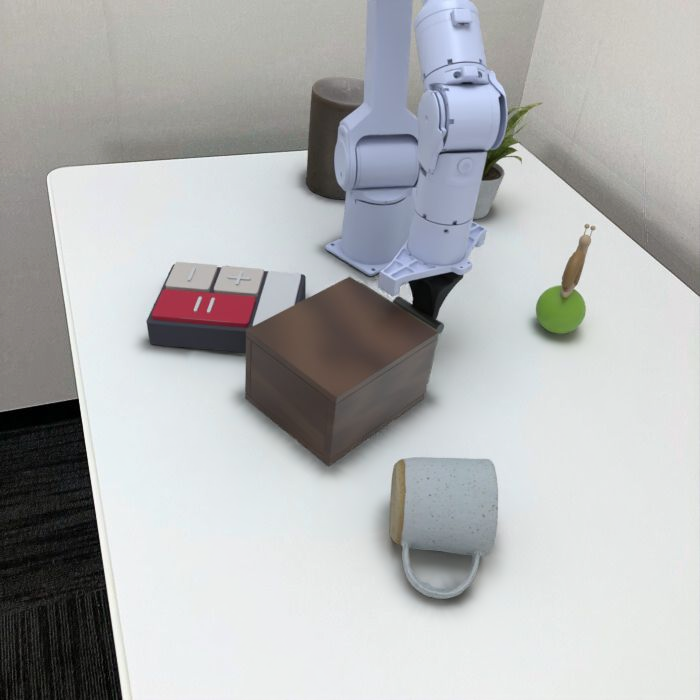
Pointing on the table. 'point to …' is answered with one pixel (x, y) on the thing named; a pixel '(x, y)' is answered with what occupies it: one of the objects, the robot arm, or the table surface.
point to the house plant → (493, 170)
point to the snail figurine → (565, 294)
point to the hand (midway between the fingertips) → (422, 322)
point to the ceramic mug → (444, 511)
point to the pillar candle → (329, 130)
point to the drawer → (417, 316)
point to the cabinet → (338, 367)
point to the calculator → (219, 304)
